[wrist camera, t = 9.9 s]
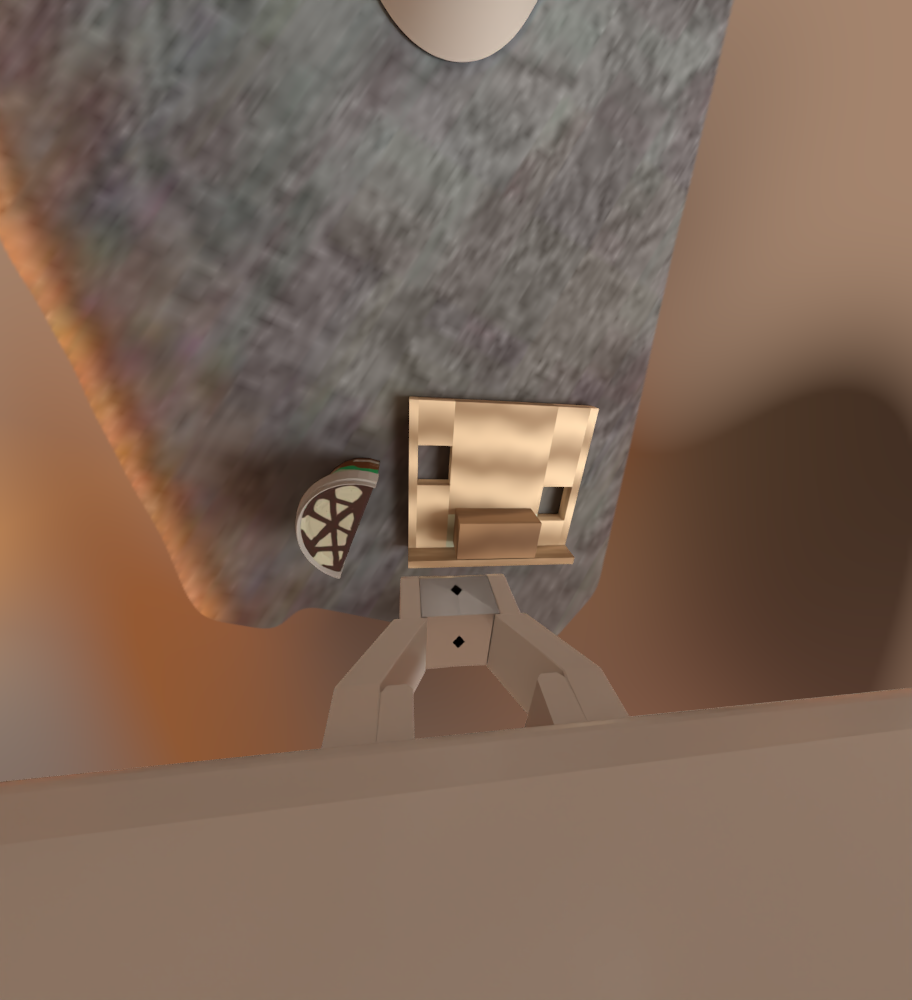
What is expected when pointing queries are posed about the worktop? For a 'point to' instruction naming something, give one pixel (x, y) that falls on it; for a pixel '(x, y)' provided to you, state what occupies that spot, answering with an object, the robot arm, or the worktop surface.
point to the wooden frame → (495, 471)
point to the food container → (334, 513)
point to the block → (495, 533)
